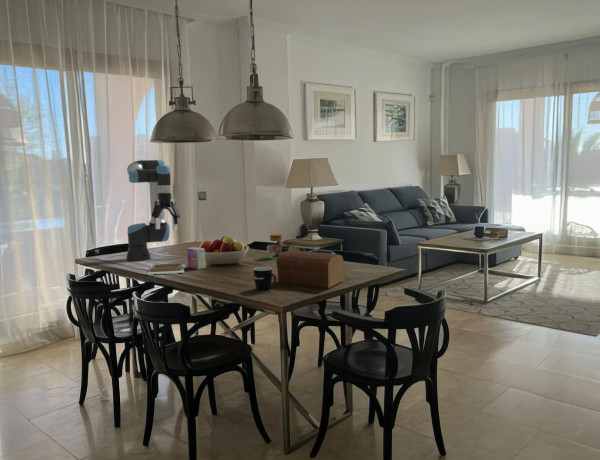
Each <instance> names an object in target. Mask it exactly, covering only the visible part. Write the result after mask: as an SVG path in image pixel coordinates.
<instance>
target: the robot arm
mask: <svg viewBox="0 0 600 460" xmlns="http://www.w3.org/2000/svg"><path fill="white" fill-rule="evenodd" d="M126 171H127V175H128V181H129V183H133V184H139V183H148V185H149V201H150V220H149V221H148V224H146V223H145V222H142V223H141V222H140V223H133V224H130V225H129V226H127V240H128V248H127V253H126V257H125V259H126V261H128V260H130V261H129V262H131V261H132V262H138V261H140V260H141V261H145V260H147V261H148V260H151V253H150V252H149V249H148V243H159V242H160V243H162V242H167V241H169V238H170V232H171V231H170V230H171V229H170V227H171V225H170V224H169V223H168V221H167V220H166V218H165V210H167V211H168V212H169V214H170V215H171V217H172V220H171V221H172V231H177V230H178V224H179V223H178V218H179V219H180V218H181V214H180V212H179V209H178V207H177V205H176V201H175V200H174V201H173V200H172V199H173V198H172V193H171V192H172V183H171V166H170V165H166V162H165V161H164V160H162V159H146V160H145V159H144V160H143V159H140V160H136V161H133V162H131V163H130V164H128V166H127V168H126ZM141 261H140V262H141Z"/></svg>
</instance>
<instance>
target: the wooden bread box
mask: <svg viewBox="0 0 600 460" xmlns="http://www.w3.org/2000/svg"><path fill="white" fill-rule="evenodd" d="M278 254H279V256H278V257H277V259H276V262H275V263H276V268H277V279H278V283H280V284H287V285H288V284H289V285H294V286H296V285H297V286H304V287H312V288H313V287H315V288H324V289H330V287H331V288H333V287H335V286H337V285H339V284H341V283H342V282H343V267H344V266H343V265H344V257H343V255H341V254H337V253H335V254H329V253H316V252H308V251H307V250H306V251H304V250H303V251H302V250H286V251H282V253H278ZM340 282H341V283H340ZM338 283H339V284H338ZM336 284H337V285H336ZM334 285H335V286H334ZM332 286H333V287H332Z"/></svg>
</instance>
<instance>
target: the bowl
mask: <svg viewBox="0 0 600 460" xmlns="http://www.w3.org/2000/svg"><path fill="white" fill-rule="evenodd" d="M307 252H316V253H329V254H336V252H334V251H332V250H330V249H329V250H328V249H312V250H308V251H307Z"/></svg>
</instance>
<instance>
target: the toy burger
mask: <svg viewBox="0 0 600 460" xmlns="http://www.w3.org/2000/svg"><path fill="white" fill-rule="evenodd" d="M269 236H270V239H269V240H270V242H271V241H272V242H276V243H275V244H268V245H267V246H266V252H267V253H266V254H267V255H269V254H274V255H270V256H268V259H271V260H277V257H278V256H279V254H281V253H283V246H284V243H283V242H282V240H283V239H282V238H283V236H282V234H280V233H279V234H277V233H276V234H275V233H274V234H270V235H269Z"/></svg>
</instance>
